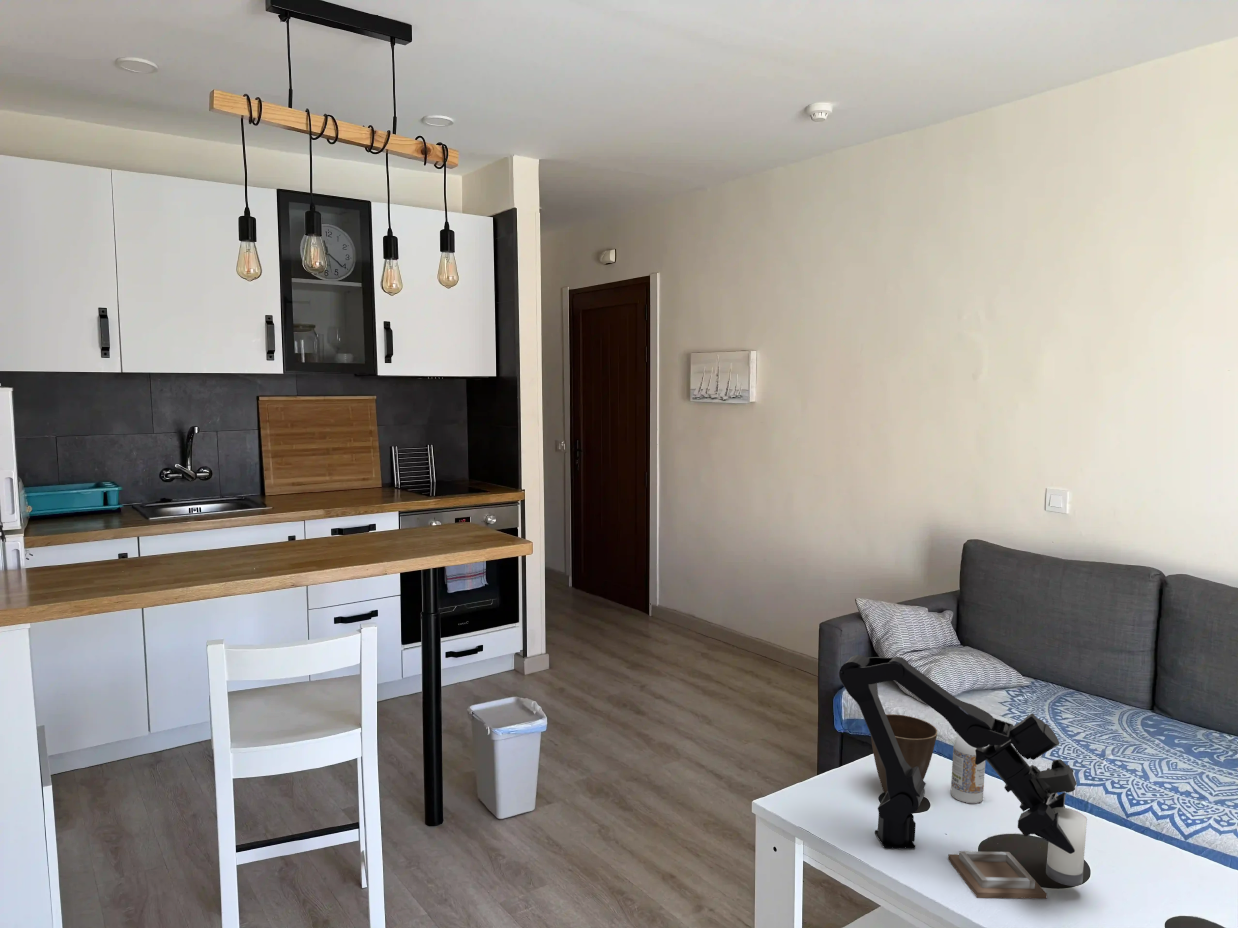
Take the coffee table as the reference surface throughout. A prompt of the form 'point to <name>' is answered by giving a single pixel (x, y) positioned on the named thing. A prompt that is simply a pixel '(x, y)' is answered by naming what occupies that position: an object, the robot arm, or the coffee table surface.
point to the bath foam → (966, 773)
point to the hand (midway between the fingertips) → (1075, 844)
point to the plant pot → (909, 744)
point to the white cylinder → (1061, 862)
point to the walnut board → (995, 875)
